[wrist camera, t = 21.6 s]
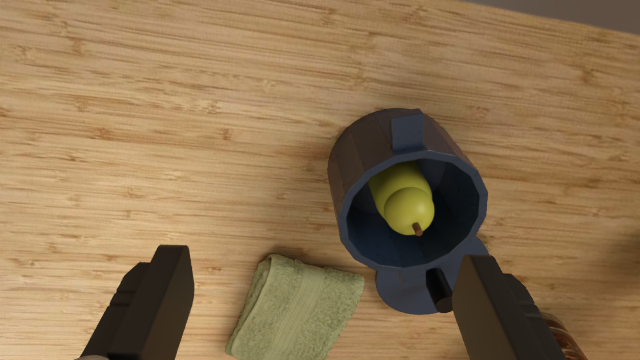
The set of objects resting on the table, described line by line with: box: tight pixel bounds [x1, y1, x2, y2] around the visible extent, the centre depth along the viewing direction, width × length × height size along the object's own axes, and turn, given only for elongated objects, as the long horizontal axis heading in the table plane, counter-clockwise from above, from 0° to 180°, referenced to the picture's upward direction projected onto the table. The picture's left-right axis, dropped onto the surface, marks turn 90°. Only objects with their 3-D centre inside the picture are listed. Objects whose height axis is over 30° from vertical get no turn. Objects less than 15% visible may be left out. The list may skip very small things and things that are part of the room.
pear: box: [367, 160, 434, 236], centre depth 37 cm, size 5×5×10 cm
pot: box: [327, 108, 488, 289], centre depth 38 cm, size 12×18×8 cm
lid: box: [375, 236, 489, 315], centre depth 48 cm, size 13×13×6 cm
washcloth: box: [225, 254, 365, 360], centre depth 50 cm, size 13×18×3 cm
